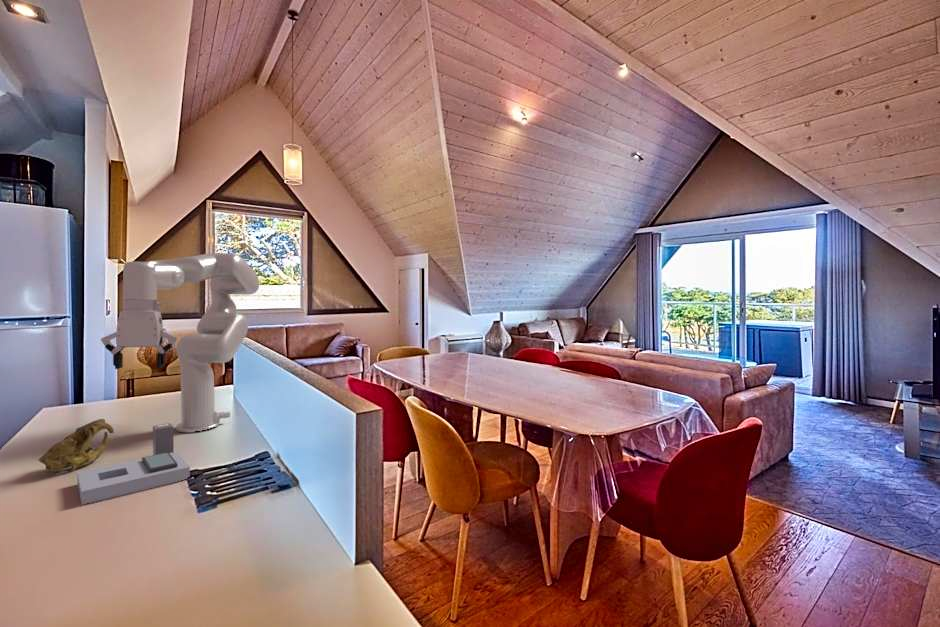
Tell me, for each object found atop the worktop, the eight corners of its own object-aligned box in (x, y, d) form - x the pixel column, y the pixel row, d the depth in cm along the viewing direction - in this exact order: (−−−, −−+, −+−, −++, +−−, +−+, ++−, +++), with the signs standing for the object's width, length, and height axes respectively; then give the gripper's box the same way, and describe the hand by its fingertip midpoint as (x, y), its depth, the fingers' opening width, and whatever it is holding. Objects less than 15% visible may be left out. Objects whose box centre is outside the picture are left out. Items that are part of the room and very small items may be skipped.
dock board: (176, 462, 119) (176, 448, 118) (189, 478, 109) (189, 462, 108) (77, 484, 105) (77, 467, 105) (81, 505, 95) (81, 486, 95)
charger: (170, 454, 124) (170, 422, 124) (173, 458, 122) (173, 425, 121) (153, 458, 122) (152, 425, 121) (156, 462, 119) (155, 428, 118)
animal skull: (130, 444, 123) (114, 416, 118) (72, 488, 111) (51, 460, 106) (106, 437, 126) (89, 411, 121) (47, 480, 113) (25, 452, 108)
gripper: (180, 306, 129) (179, 365, 130) (108, 305, 123) (107, 366, 124) (172, 307, 122) (172, 368, 123) (95, 306, 116) (95, 370, 117)
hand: (139, 367), depth 123 cm, fingers open, 9 cm apart
